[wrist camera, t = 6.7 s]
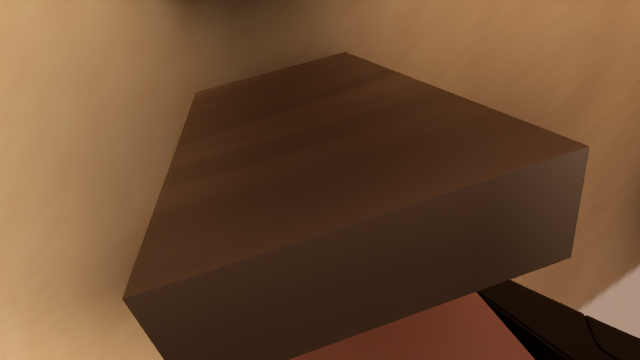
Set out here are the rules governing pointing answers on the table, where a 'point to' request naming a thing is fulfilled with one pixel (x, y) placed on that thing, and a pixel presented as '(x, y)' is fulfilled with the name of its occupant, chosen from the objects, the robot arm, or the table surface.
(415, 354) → the domino
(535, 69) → the table surface
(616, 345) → the robot arm
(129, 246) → the table surface
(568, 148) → the domino
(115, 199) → the table surface
